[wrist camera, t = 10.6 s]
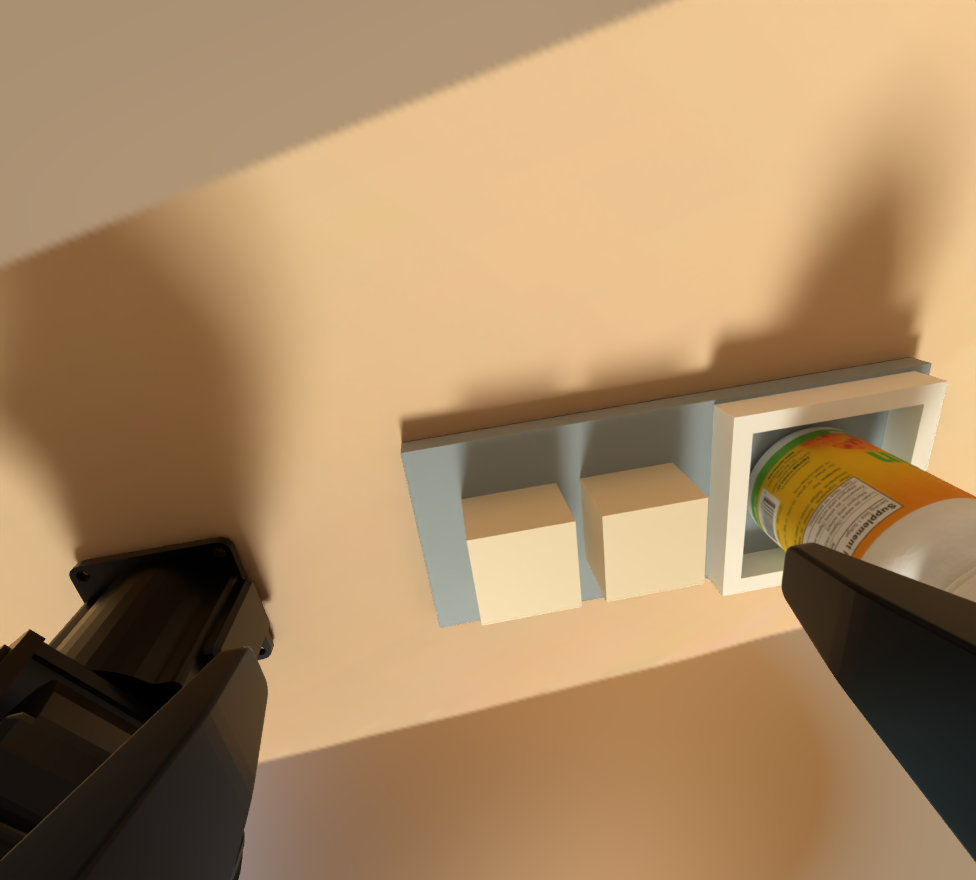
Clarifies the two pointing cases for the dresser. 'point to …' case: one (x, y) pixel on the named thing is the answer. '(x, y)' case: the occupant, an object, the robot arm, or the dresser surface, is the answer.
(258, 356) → the dresser surface
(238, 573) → the robot arm
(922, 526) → the supplement bottle
